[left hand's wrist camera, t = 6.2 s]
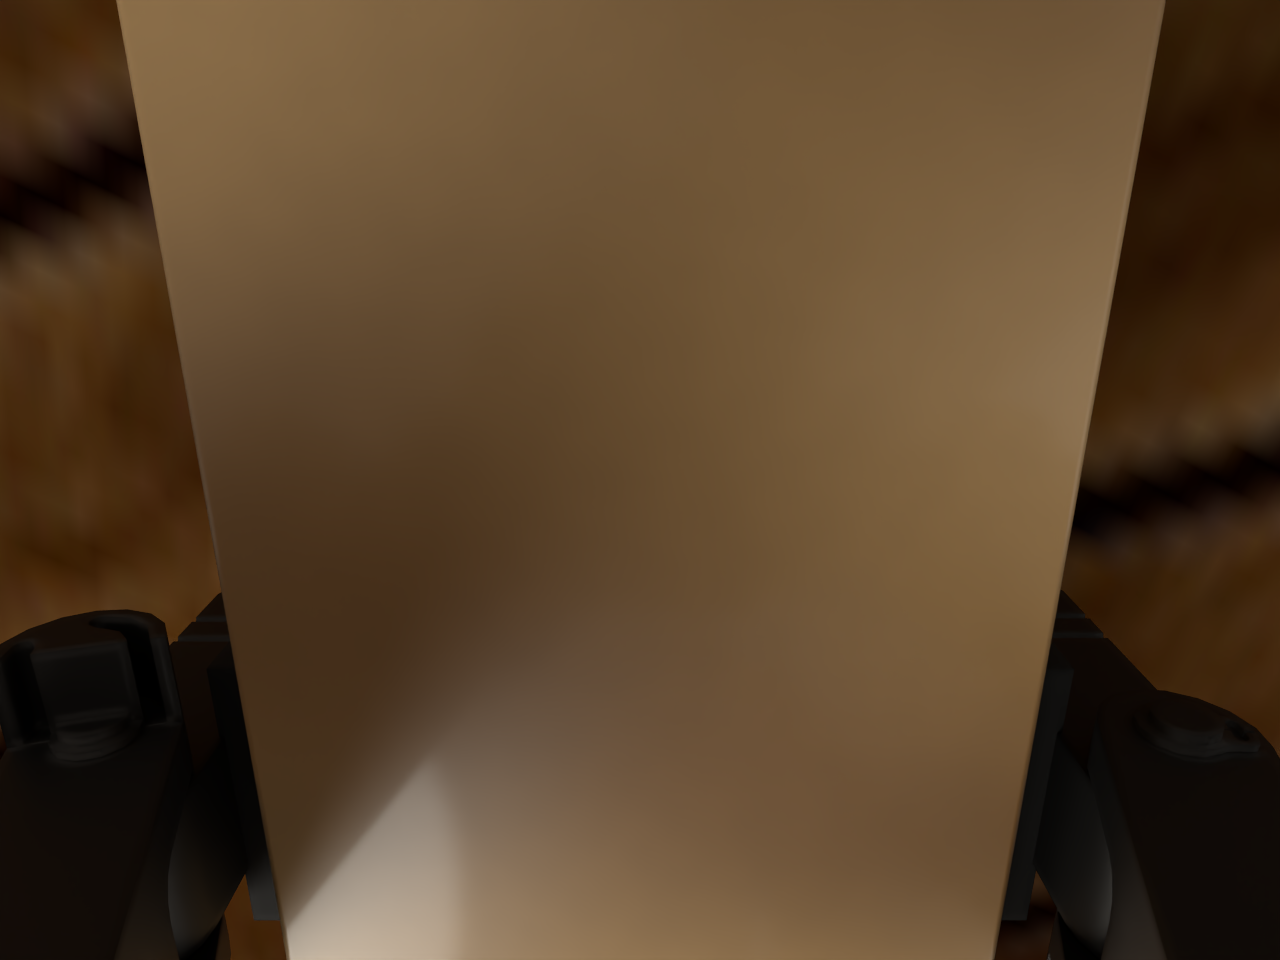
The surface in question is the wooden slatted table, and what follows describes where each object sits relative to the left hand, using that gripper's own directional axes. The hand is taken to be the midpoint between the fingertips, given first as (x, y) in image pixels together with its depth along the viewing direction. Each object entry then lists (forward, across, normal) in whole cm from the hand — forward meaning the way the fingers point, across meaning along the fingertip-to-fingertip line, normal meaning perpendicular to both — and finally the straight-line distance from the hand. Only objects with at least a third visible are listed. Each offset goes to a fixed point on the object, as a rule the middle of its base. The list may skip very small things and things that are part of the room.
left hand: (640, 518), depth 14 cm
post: (+1, 0, -22) cm, 22 cm away
